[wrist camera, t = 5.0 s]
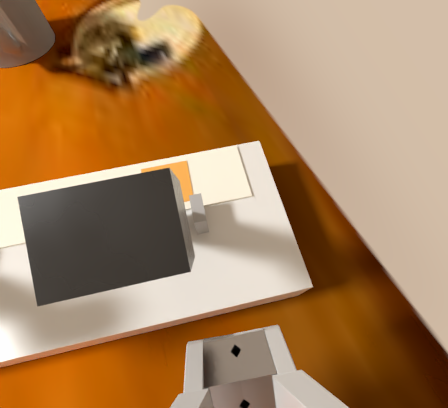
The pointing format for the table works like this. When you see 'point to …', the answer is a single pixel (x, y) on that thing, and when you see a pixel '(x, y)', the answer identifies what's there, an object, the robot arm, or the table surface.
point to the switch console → (170, 286)
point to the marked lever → (106, 235)
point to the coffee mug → (23, 33)
